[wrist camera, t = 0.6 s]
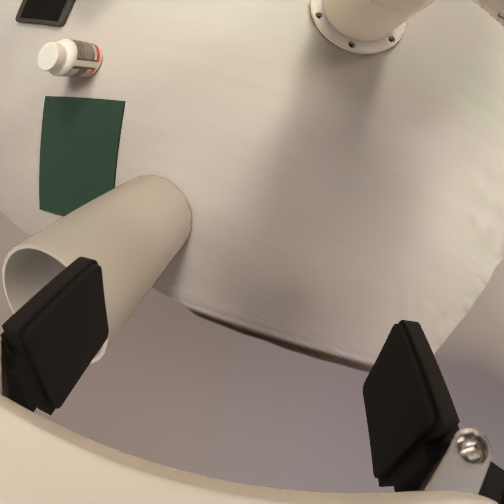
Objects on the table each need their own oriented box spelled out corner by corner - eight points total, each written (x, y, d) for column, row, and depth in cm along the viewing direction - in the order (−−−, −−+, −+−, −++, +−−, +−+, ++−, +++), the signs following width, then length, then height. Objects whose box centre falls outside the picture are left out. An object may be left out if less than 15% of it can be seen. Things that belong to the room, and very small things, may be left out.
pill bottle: (83, 41, 35) (42, 34, 27) (108, 47, 36) (68, 39, 27) (71, 72, 38) (28, 72, 29) (95, 80, 38) (53, 80, 29)
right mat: (46, 96, 40) (45, 96, 39) (125, 101, 39) (124, 101, 39) (41, 208, 48) (39, 209, 48) (112, 228, 48) (110, 229, 48)
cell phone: (31, -14, 30) (28, -15, 29) (81, -13, 31) (79, -14, 30) (16, 21, 33) (13, 21, 32) (63, 26, 34) (61, 26, 33)
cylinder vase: (188, 261, 49) (114, 381, 26) (116, 244, 49) (18, 338, 27) (198, 181, 43) (101, 264, 21) (119, 168, 44) (-8, 231, 21)
